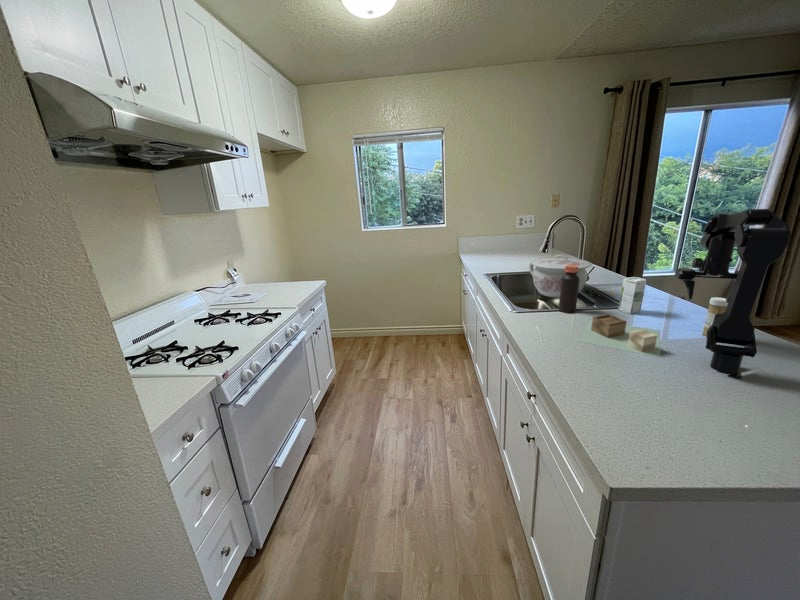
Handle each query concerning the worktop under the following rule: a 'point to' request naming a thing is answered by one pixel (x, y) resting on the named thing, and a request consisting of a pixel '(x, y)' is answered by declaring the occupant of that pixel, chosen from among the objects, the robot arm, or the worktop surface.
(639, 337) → the ash block
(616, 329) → the walnut socket block
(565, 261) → the chamber pot
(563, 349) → the worktop surface
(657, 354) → the board
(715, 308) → the sprinkles bottle
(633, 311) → the syrup box
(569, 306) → the vinegar
